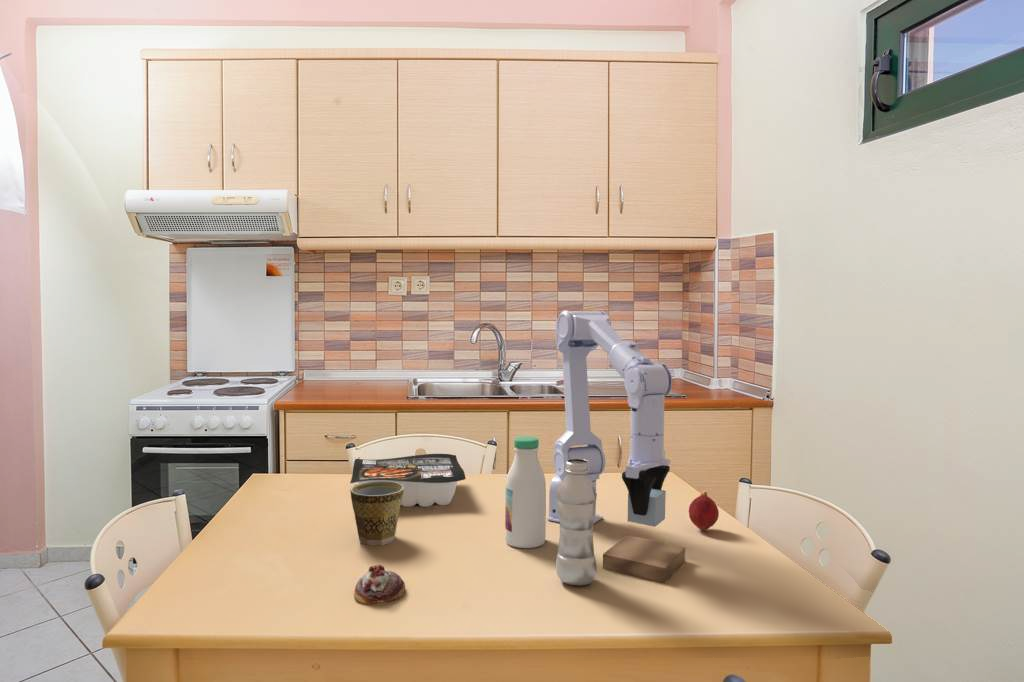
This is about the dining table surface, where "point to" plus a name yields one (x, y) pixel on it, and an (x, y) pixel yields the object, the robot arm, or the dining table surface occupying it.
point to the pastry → (379, 586)
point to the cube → (650, 509)
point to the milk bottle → (525, 497)
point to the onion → (703, 512)
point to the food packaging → (414, 476)
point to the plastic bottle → (576, 525)
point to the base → (644, 558)
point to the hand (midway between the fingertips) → (645, 510)
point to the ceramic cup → (376, 510)
